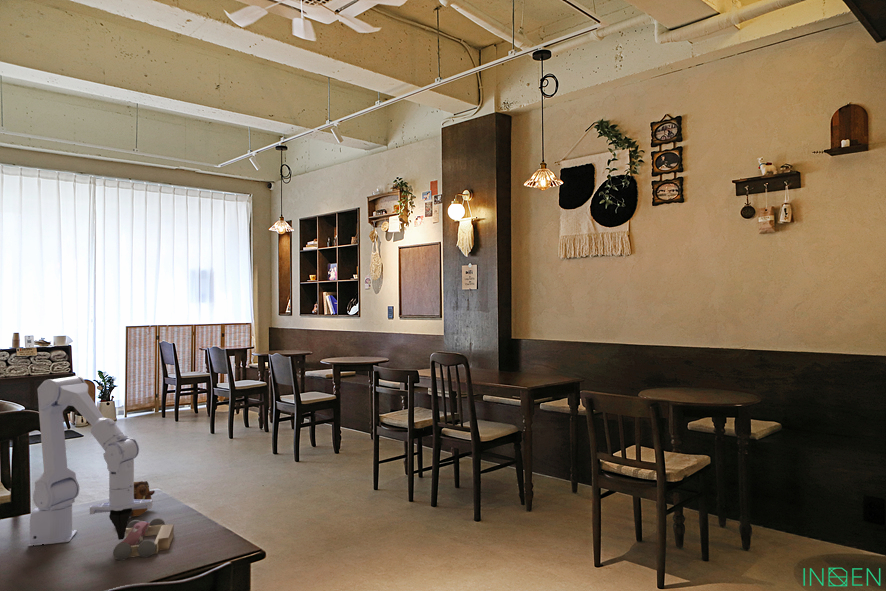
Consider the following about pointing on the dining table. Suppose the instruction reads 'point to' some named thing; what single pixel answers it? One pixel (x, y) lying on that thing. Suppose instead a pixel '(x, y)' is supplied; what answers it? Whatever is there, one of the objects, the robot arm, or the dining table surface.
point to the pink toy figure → (136, 533)
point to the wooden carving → (141, 495)
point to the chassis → (146, 546)
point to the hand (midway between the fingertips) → (121, 538)
